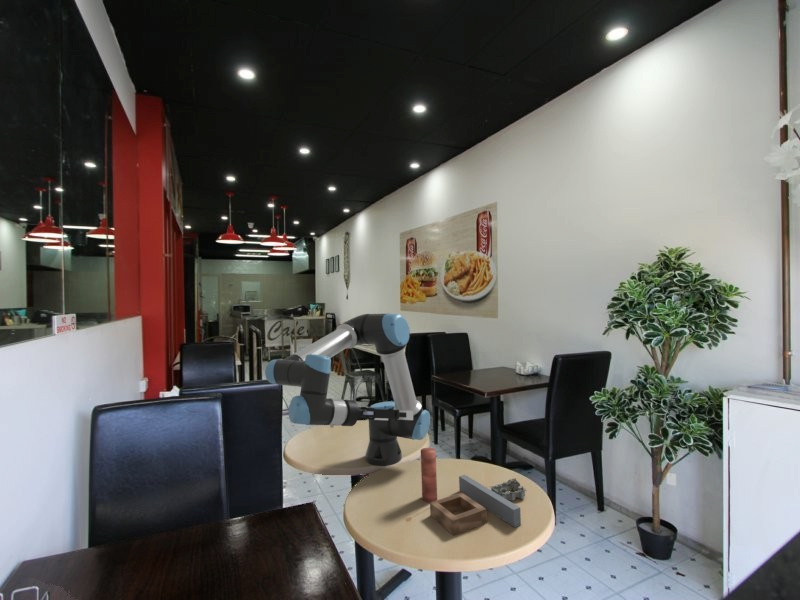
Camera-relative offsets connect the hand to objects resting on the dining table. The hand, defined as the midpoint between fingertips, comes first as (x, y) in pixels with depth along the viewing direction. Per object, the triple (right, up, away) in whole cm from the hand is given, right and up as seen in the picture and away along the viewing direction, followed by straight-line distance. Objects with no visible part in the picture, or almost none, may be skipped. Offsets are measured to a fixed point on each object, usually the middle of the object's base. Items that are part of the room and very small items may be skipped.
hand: (399, 415), depth 129 cm
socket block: (+18, -28, -10) cm, 35 cm away
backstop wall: (+28, -28, -4) cm, 39 cm away
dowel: (+10, -28, +3) cm, 30 cm away
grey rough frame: (+36, -28, +3) cm, 46 cm away
